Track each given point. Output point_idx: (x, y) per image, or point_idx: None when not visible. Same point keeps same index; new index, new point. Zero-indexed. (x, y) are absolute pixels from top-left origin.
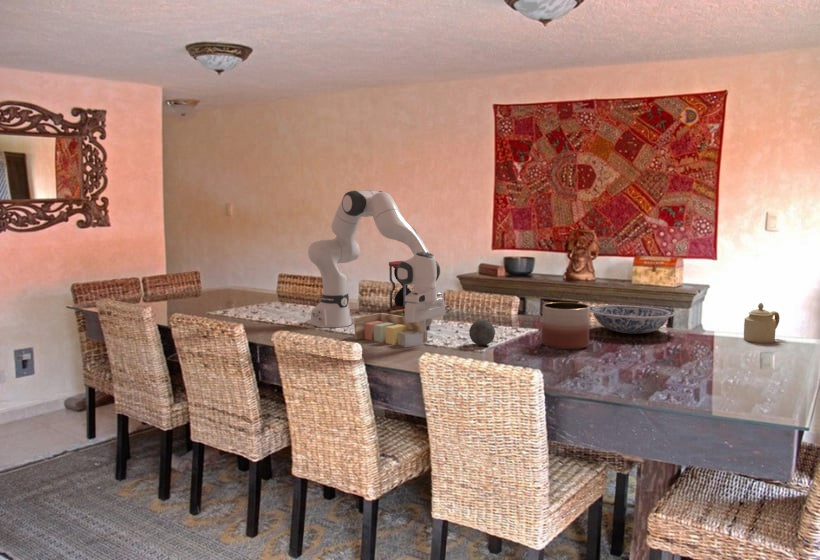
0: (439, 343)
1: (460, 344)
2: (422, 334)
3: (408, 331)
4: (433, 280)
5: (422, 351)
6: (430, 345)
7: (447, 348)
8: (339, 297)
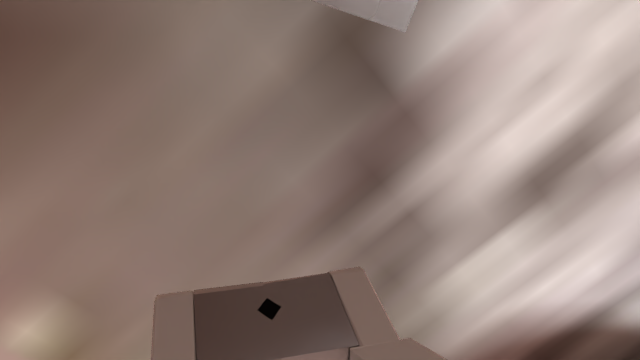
0: (543, 93)
1: (597, 285)
2: (373, 18)
3: None
4: None
5: (11, 270)
6: (376, 89)
7: None
8: None
